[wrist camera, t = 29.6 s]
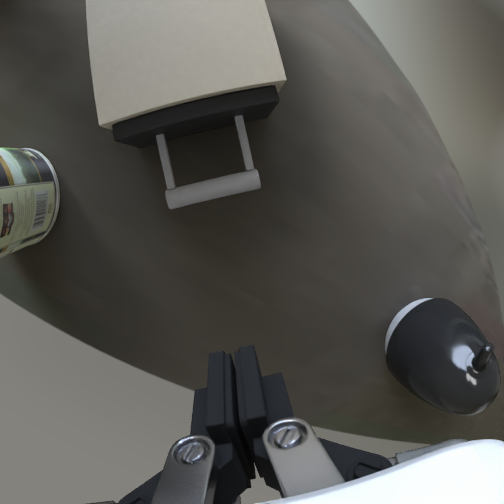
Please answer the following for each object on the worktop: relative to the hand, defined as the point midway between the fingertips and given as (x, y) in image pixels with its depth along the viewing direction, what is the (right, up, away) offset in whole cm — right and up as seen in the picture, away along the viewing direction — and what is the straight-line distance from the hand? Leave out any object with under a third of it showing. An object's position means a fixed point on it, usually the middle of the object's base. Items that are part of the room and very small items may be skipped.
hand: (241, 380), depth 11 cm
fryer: (-6, +23, +14) cm, 28 cm away
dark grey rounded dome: (+19, -4, +22) cm, 29 cm away
